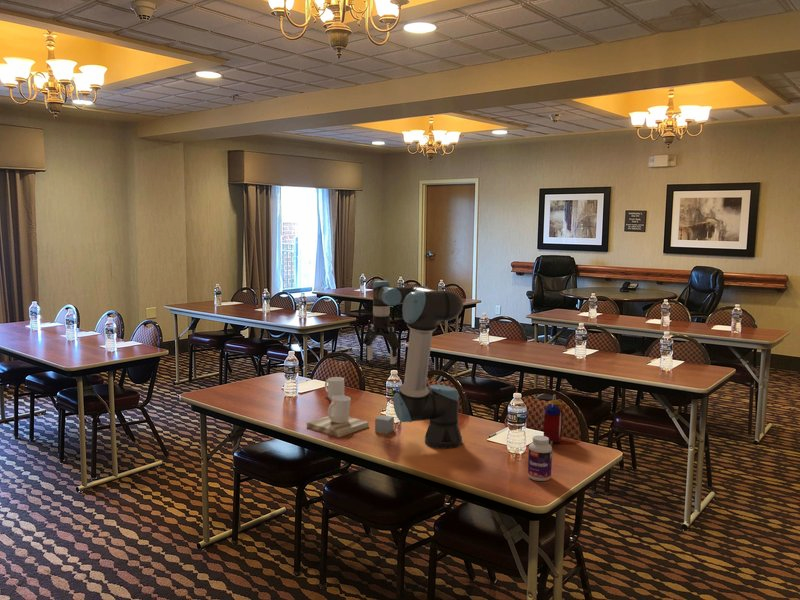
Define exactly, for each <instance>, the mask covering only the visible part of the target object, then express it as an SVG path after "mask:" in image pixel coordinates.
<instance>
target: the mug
mask: <svg viewBox="0 0 800 600" xmlns="http://www.w3.org/2000/svg"><path fill="white" fill-rule="evenodd" d="M351 399H352V398H351V397H350V396H347V395H345V394H344V395H335V396H332V400H330V401H331V402H330V404H329V406H328V408H327V416H328V417H329V418H330V420H331V421H332V422H334V423H346V422H348V420H349V417H350V408H351V402H352V401H351Z"/></svg>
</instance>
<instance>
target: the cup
mask: <svg viewBox="0 0 800 600" xmlns="http://www.w3.org/2000/svg"><path fill="white" fill-rule="evenodd" d="M324 390H325V392H326V393H327V398H328V400H330V401H332V396H335V395H344V396H345V377H341V376H334V377H329V378H327V379H326V380H325V383H324Z"/></svg>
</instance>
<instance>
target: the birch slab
mask: <svg viewBox="0 0 800 600" xmlns="http://www.w3.org/2000/svg"><path fill="white" fill-rule="evenodd" d="M306 428H307V429H310V430H313V431H318V432H320V433H323V434H328V435H331V436H334V437H337V438H341V437H344V436H347V435H350V434H352V433H355V432H358V431H362V430H364V429H367V428H369V421H366V420H364V419H363V420H362V419H358V418H355V417H351V416H349V420H348V422H346V423H334V422H332V421H331V420H330V418H329V417H328V415H327V416H324V417H320V418H317V419H314V420H311V421H307V422H306Z"/></svg>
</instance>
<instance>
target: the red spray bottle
mask: <svg viewBox="0 0 800 600" xmlns="http://www.w3.org/2000/svg"><path fill="white" fill-rule="evenodd" d="M563 406H564V404H563V402H561V401H559V400H557V395H556V394H553V397H552V400H550V401H549V402H548V403H547V404H546V406H545V409H544V411H543V412H541V414H542V415H541V417H542V418H544V419H541V418H540V419H538V420H539V421H540V422H543V425H541V426H540V427H541V428H543V436H546V437H548V438H549V444H550V445H551V447H552V446H553V443H561V439H562V435H563V422H564V421H563V417H564V416H563V410H564V409H563Z"/></svg>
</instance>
